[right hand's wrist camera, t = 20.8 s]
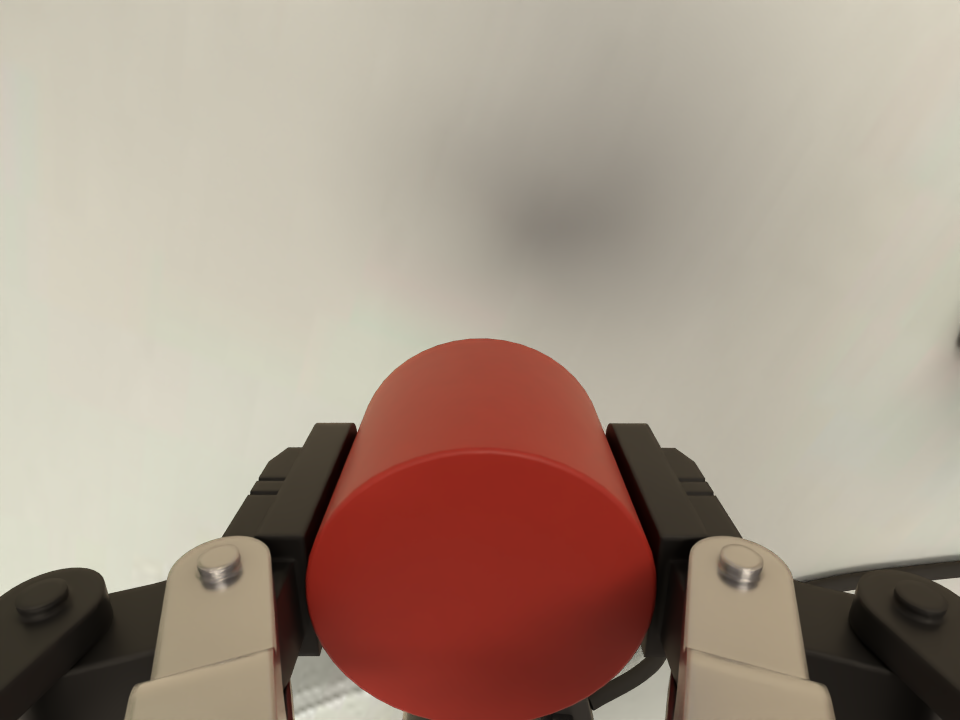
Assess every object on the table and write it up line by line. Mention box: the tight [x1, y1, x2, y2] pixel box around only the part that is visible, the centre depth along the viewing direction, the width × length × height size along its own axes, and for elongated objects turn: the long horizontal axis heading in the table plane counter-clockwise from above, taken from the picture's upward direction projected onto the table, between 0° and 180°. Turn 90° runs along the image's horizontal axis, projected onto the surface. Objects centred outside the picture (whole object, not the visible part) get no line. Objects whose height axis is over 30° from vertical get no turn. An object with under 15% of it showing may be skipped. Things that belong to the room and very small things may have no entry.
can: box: [305, 339, 657, 720], centre depth 10 cm, size 5×5×4 cm
